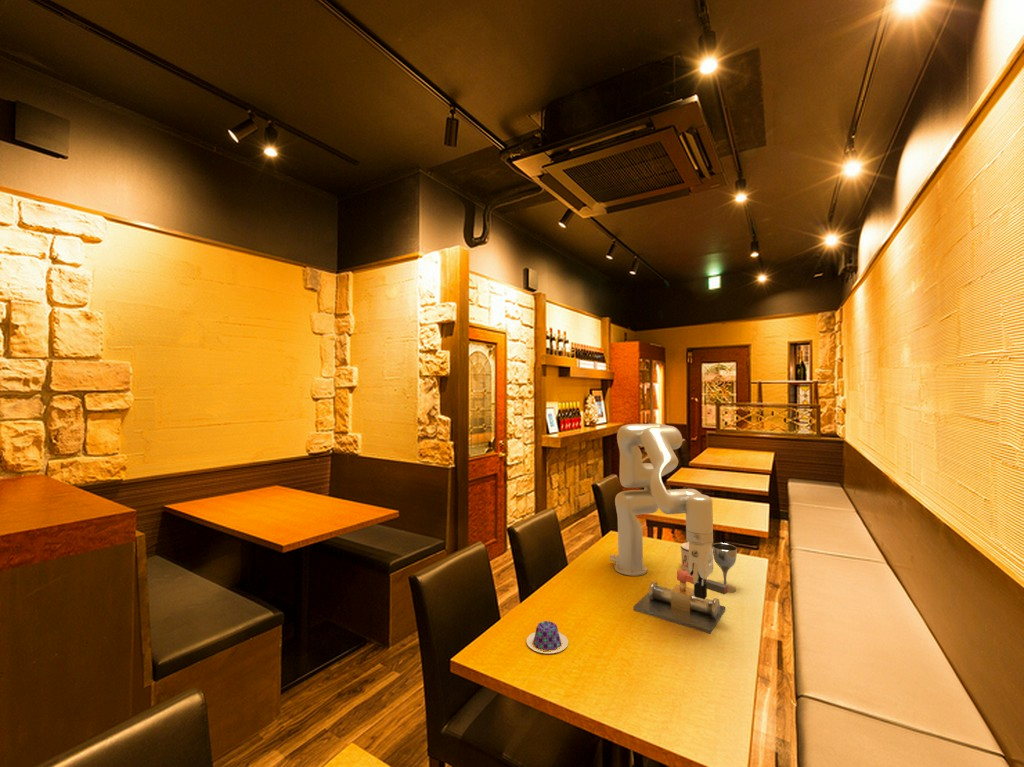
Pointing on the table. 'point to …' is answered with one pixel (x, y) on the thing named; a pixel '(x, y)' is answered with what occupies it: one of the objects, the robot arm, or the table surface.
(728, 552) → the wine glass
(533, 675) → the table surface
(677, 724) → the table surface
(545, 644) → the pudding
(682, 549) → the teacup with lid
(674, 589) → the valve
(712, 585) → the lever
